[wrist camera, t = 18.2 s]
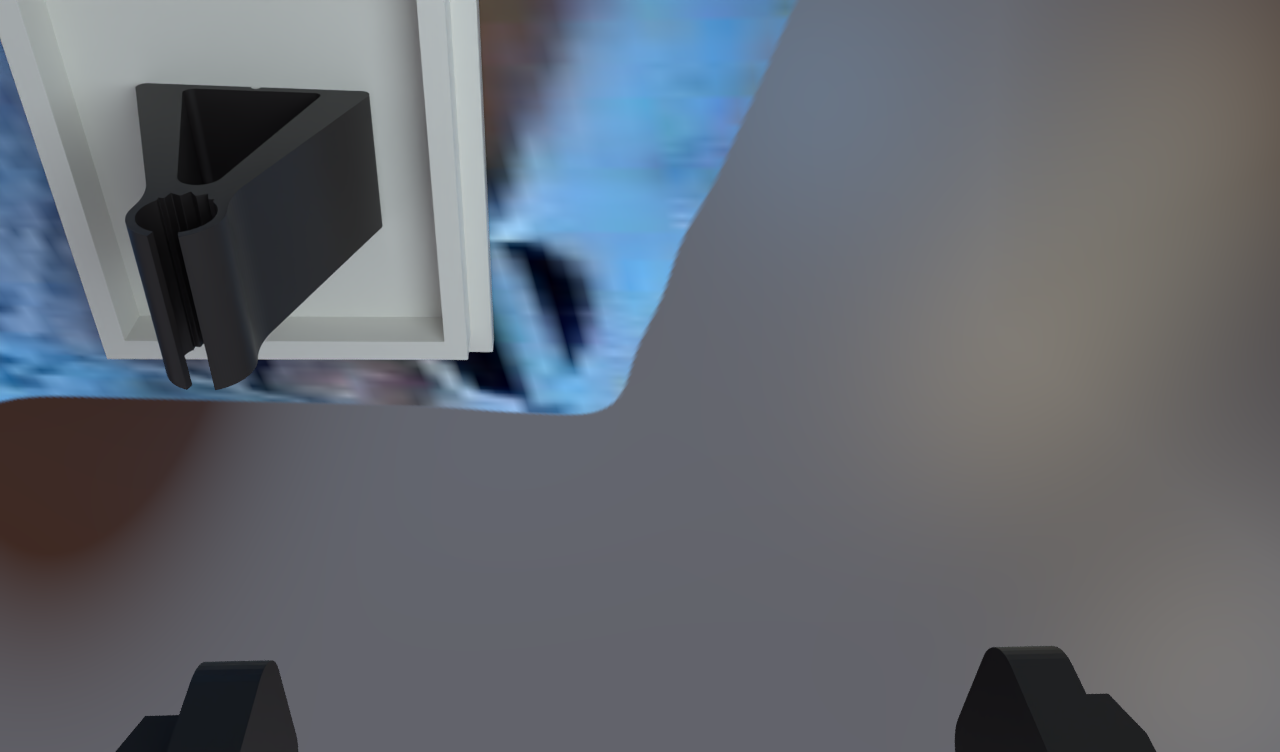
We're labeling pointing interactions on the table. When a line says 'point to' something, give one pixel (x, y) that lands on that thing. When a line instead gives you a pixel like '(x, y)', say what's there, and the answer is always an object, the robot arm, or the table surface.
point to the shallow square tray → (276, 58)
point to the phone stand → (246, 212)
